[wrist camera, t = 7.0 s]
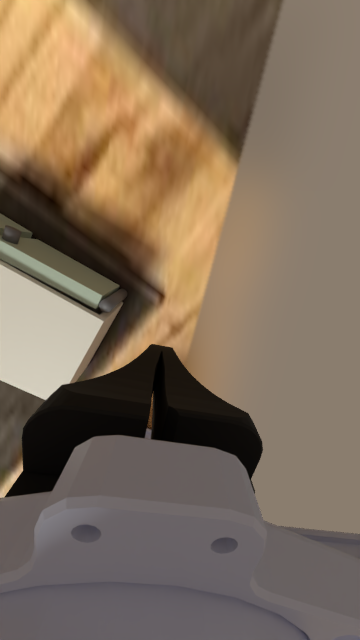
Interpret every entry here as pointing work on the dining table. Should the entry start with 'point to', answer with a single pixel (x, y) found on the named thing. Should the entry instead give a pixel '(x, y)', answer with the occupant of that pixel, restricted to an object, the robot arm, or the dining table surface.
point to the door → (59, 270)
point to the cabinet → (44, 330)
